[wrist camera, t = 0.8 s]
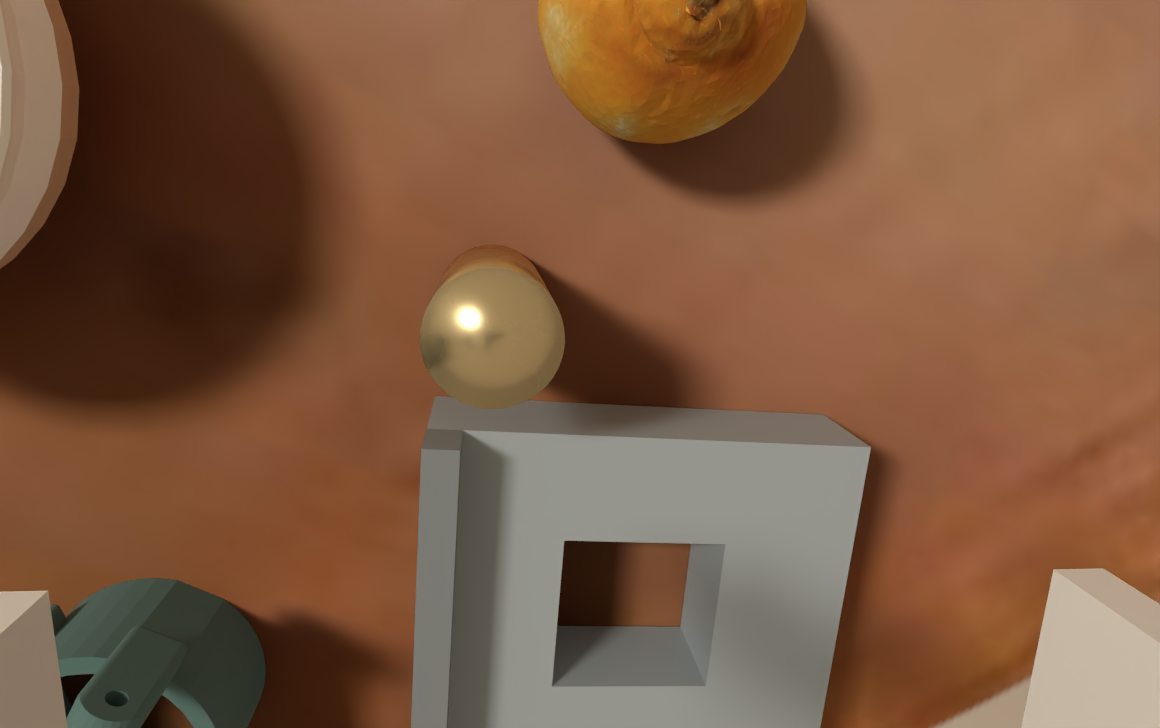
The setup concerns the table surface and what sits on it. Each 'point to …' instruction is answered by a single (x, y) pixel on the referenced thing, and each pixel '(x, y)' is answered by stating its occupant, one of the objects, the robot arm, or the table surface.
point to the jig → (631, 514)
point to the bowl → (34, 117)
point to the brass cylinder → (492, 330)
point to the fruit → (667, 60)
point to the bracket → (159, 656)
